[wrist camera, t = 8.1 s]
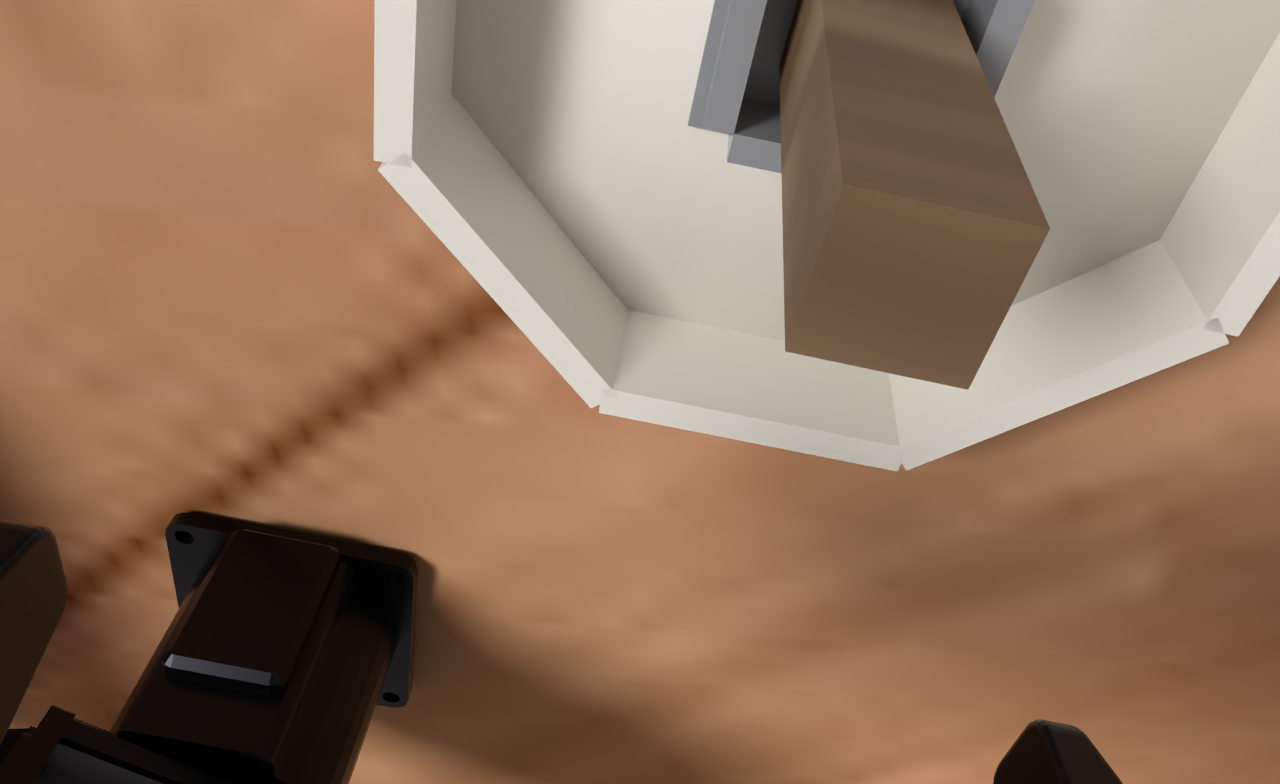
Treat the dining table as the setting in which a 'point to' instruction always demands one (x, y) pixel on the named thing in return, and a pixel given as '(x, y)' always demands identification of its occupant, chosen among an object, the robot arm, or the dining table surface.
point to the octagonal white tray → (752, 202)
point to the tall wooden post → (897, 192)
